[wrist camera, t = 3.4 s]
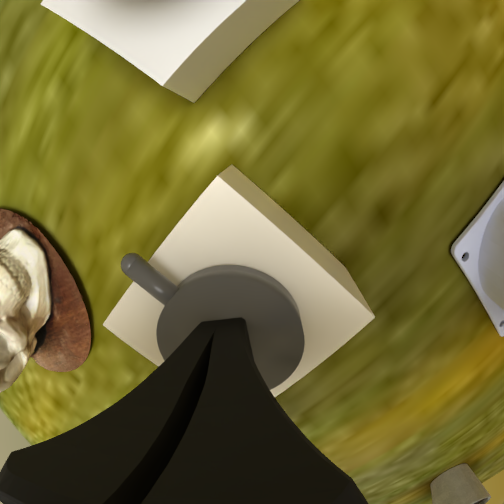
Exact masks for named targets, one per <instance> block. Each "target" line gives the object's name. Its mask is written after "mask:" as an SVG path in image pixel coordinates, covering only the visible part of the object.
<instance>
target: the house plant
mask: <svg viewBox="0 0 504 504" xmlns="http://www.w3.org/2000/svg"><path fill="white" fill-rule="evenodd" d="M430 486H431V493H432V501H433V504H485V503H486V502H487V501H488V500H489V499H490V498H491V496H490V494H489V493H488V492H487V490H486V489H485V488H484V486H483V485H482V483H481V482H480V481H479V479H478V478H477V477H476V475H475V474H474V472H473V471H472V470H471V468H470V467H469V466H468V464H460V465H458V466H455V467H453V468H451V469H449V470H447V471H446V472H444V473H442V474H441V475H439V476H438V477H437V478H436V479H434V480H433V481H432V483H431V485H430Z"/></svg>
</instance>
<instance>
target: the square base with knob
mask: <svg viewBox="0 0 504 504" xmlns="http://www.w3.org/2000/svg"><path fill="white" fill-rule="evenodd" d="M298 1H299V0H43V1H42V3H41V5H43V6H45V7H46V8H48V9H50V10H51V11H53V12H55V13H56V14H58V15H60V16H61V17H63V18H64V19H66V20H68V21H69V22H71V23H72V24H74V25H76V26H77V27H79V28H80V29H82V30H83V31H85V32H86V33H88V34H90V35H91V36H93V37H94V38H96V39H97V40H99V41H100V42H102V43H103V44H104V45H106V46H107V47H109V48H110V49H112V50H113V51H115V52H116V53H118V54H119V55H120V56H122V57H123V58H125V59H126V60H128V61H129V62H130V63H132V64H133V65H135V66H136V67H137V68H139V69H140V70H141V71H143V72H144V73H146V74H147V75H148V76H150V77H151V78H152V79H154V80H155V81H156V82H158V83H159V84H160V85H162V86H163V87H165V88H167V89H169V90H171V91H173V92H175V93H177V94H178V95H180V96H182V97H184V98H186V99H188V100H189V101H191V102H193V103H195V102H196V101H197V100H198V98H199V97H200V96H201V95H202V94H203V93H204V92H205V91H206V89H207V88H208V87H209V86H210V85H211V84H212V83H213V82H214V81H215V80H216V78H217V77H218V76H219V75H220V74H221V73H222V72H223V71H224V70H225V69H226V68H227V67H228V66H229V65H230V64H231V63H232V62H233V61H234V60H235V59H236V58H237V57H238V56H239V55H240V54H241V53H242V52H243V51H244V50H245V49H246V48H247V47H248V46H249V45H250V44H251V43H252V42H253V41H254V40H255V39H256V38H257V37H258V36H259V35H260V34H261V33H263V32H264V31H265V30H266V29H267V28H268V27H269V26H270V25H271V24H272V23H274V22H275V21H276V20H277V19H278V18H279V17H280V16H282V15H283V14H284V13H285V12H286V11H287V10H288V9H290V8H291V7H292V6H293V5H294V4H296V3H297V2H298Z"/></svg>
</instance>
